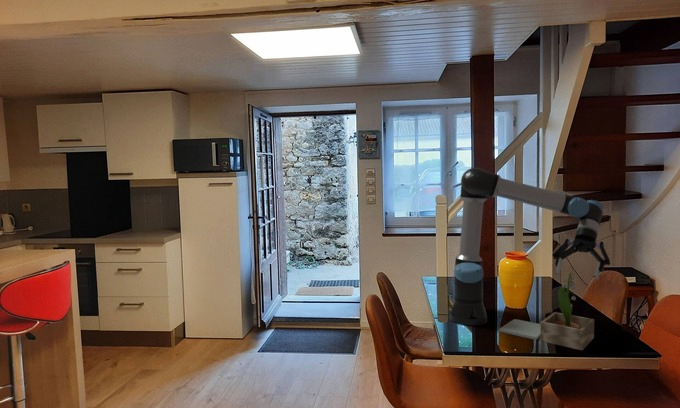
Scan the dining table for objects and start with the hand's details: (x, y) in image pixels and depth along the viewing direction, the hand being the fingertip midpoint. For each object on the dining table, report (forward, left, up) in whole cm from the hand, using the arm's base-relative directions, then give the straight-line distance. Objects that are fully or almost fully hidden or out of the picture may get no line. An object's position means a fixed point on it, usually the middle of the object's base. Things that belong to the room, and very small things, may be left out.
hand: (576, 275), depth 169 cm
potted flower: (0, -11, -22) cm, 25 cm away
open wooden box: (0, -11, -22) cm, 25 cm away
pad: (-16, -11, -22) cm, 29 cm away
